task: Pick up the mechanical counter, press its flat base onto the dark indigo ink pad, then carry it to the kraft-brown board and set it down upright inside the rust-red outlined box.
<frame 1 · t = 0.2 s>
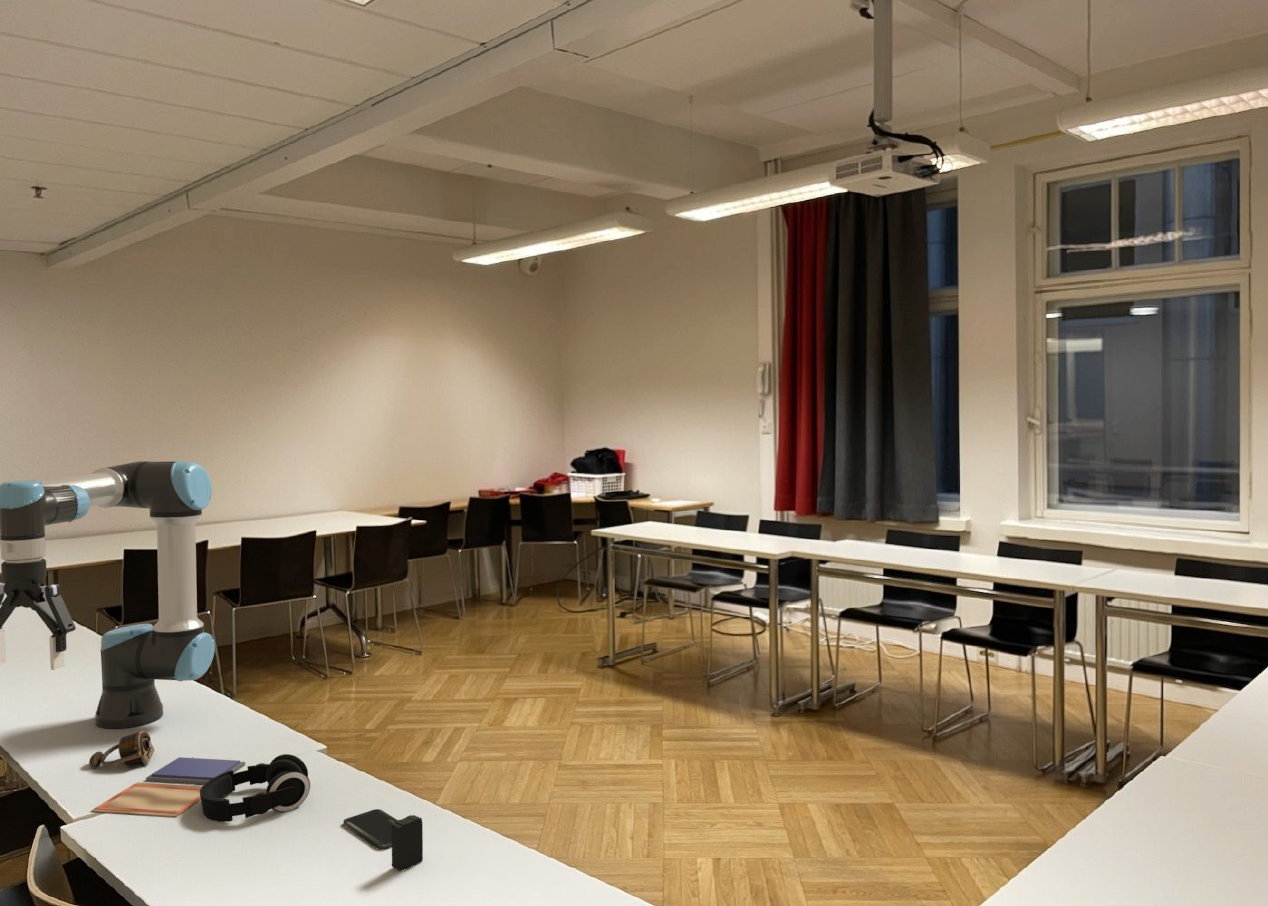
hand: (28, 666, 191), 27 cm above the table, fingers open, 13 cm apart
headphones: (256, 806, 192), on the table
print sheet: (155, 799, 194), on the table
ink pad: (196, 772, 208), on the table
phone: (379, 833, 180), on the table
ink cartridge: (407, 866, 167), on the table
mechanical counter: (123, 764, 214), on the table
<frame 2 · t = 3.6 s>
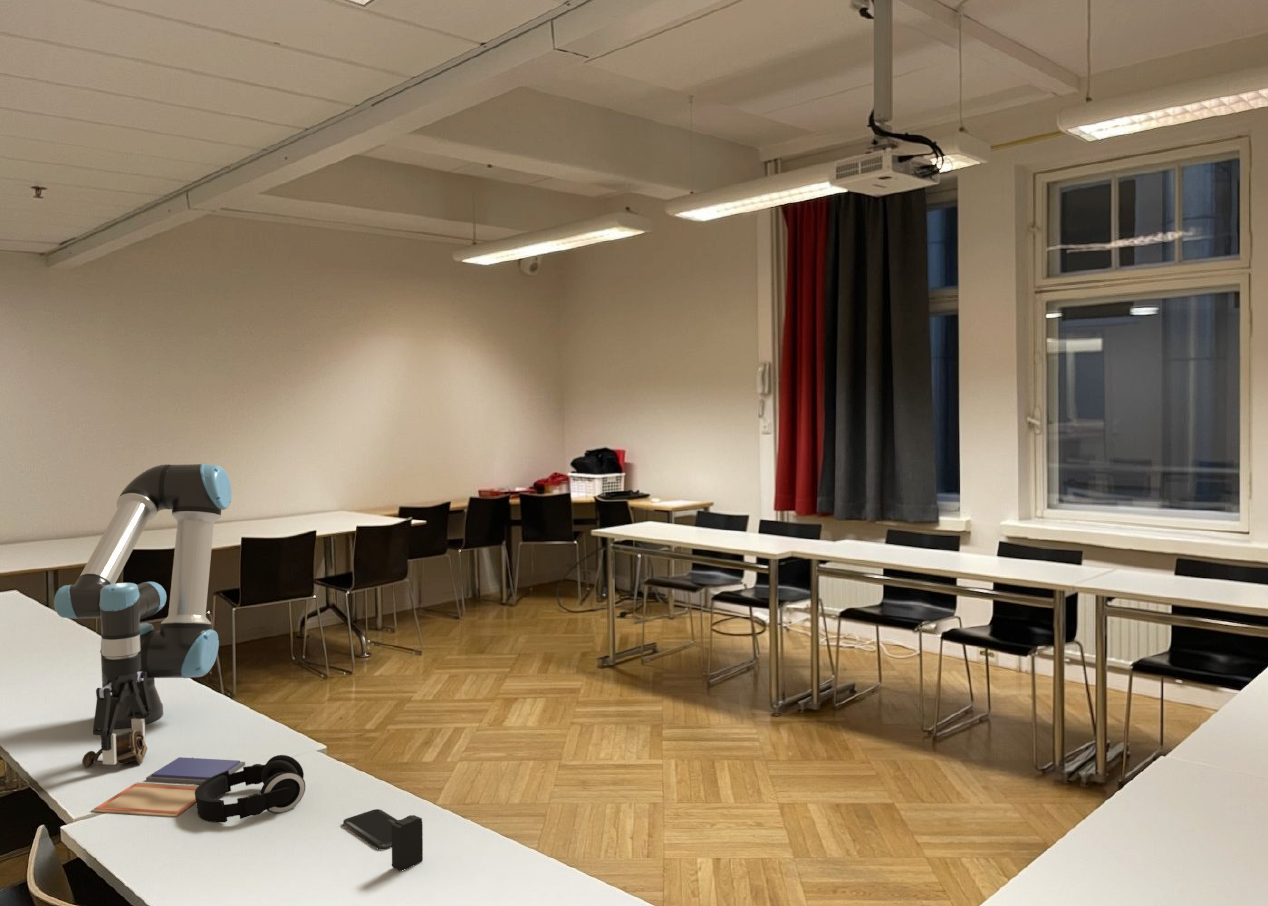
hand: (124, 755, 213), 2 cm above the table, fingers closed on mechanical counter, 9 cm apart
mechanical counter: (117, 763, 214), on the table, touching gripper
when the fingers open (2 cm above the table, at t = 17.4 s): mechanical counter stays where it is, resting on print sheet.
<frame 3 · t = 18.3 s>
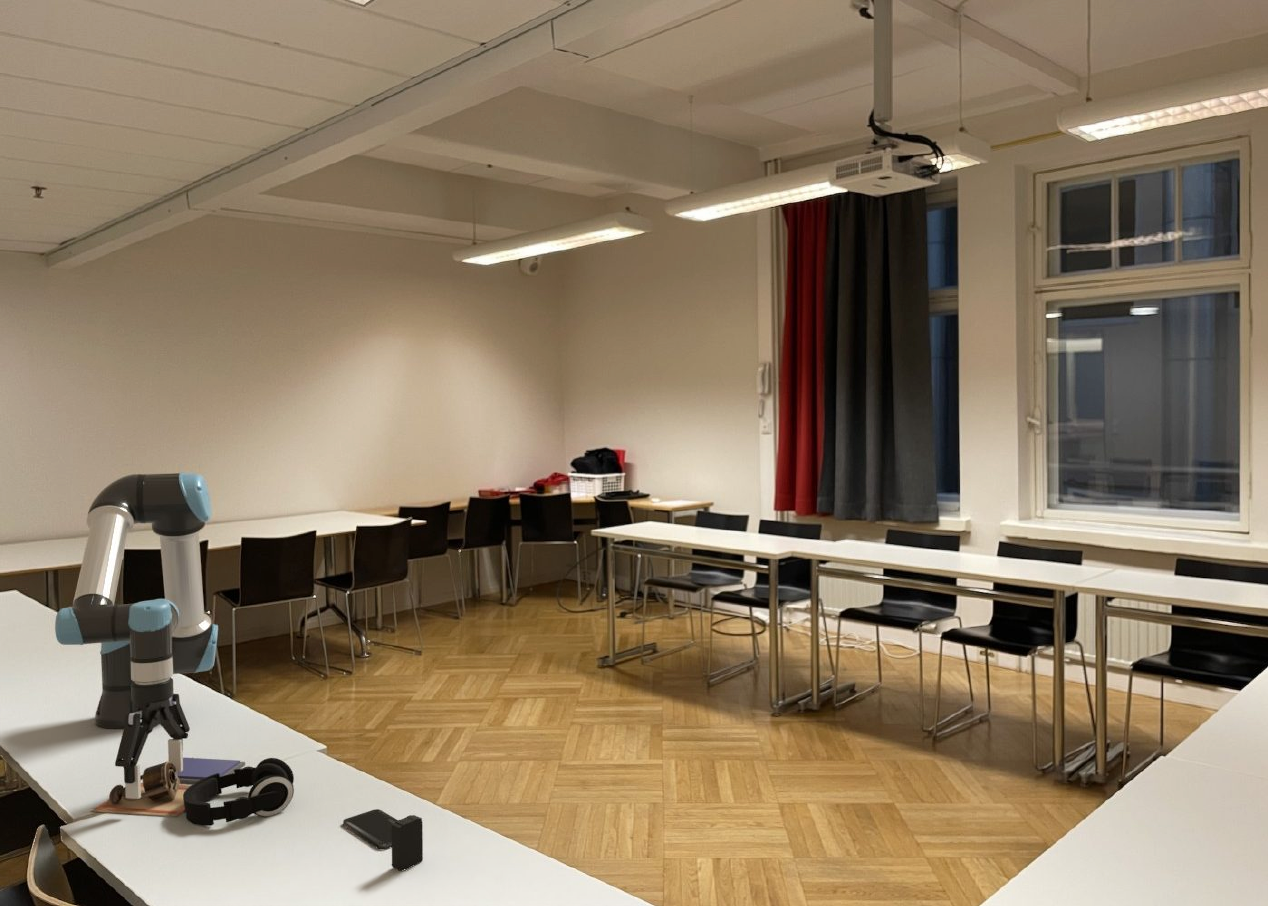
hand: (155, 784, 194), 3 cm above the table, fingers open, 13 cm apart
headphones: (240, 809, 190), on the table
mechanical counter: (147, 798, 194), resting on print sheet
everything else where it was.
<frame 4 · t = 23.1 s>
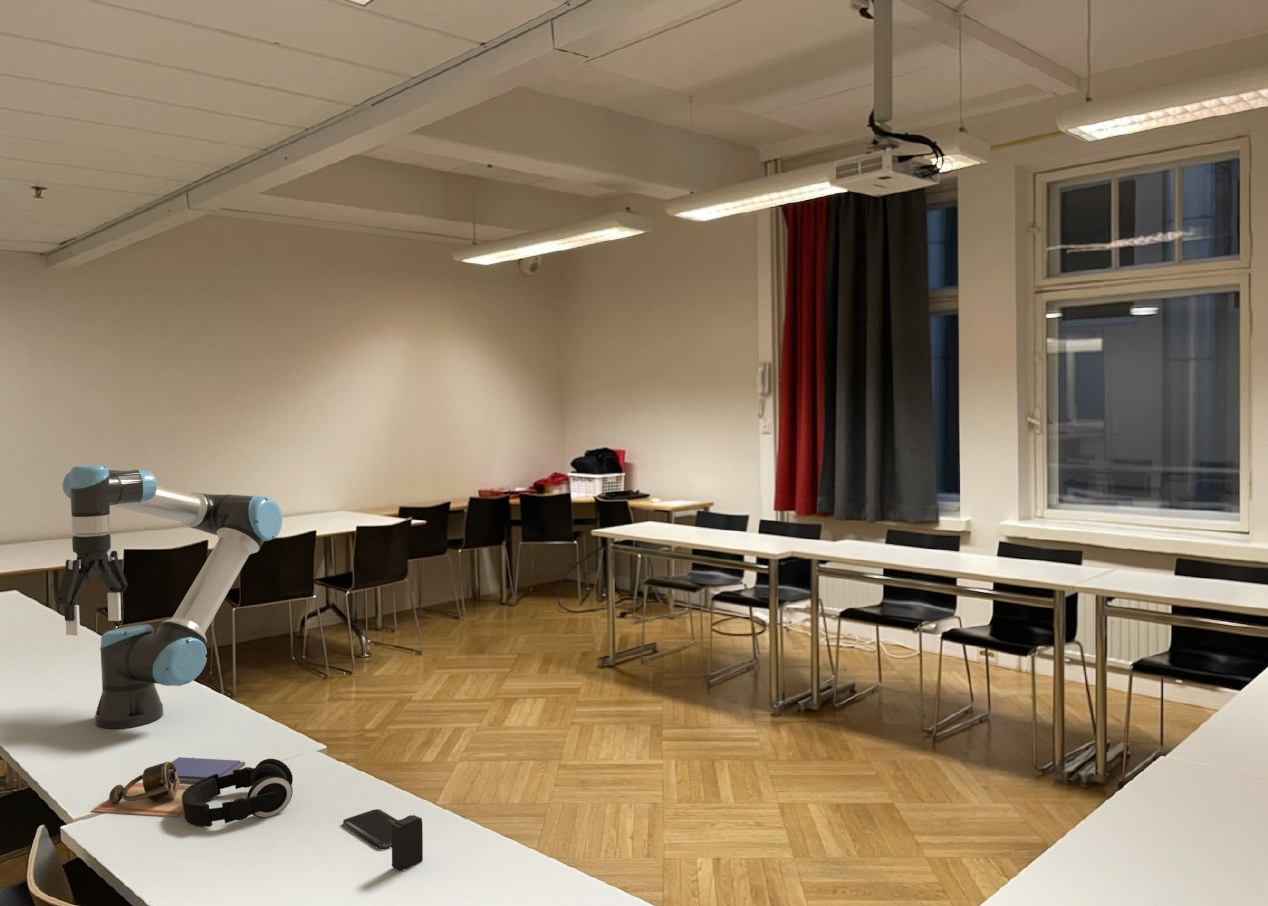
hand: (94, 627, 218), 29 cm above the table, fingers open, 13 cm apart
at the end: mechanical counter 2.0 cm off-centre on the print sheet, point 0.0 cm above the print sheet's base; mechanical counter tilted 0°; the gripper is holding nothing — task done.
